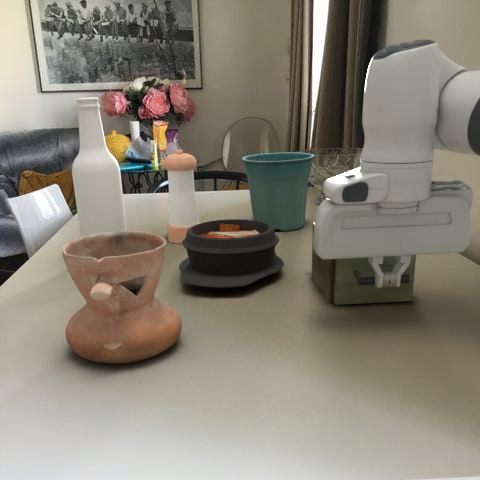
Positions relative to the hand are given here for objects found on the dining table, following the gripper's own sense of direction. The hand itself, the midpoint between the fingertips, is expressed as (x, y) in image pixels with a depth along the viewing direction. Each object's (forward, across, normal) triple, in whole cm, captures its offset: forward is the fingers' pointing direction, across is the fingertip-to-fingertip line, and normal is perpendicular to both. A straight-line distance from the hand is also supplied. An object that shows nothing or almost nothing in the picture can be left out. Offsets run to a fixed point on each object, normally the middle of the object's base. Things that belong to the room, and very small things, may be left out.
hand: (387, 286), depth 77 cm
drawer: (+4, 0, -10) cm, 11 cm away
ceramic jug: (+5, +35, +4) cm, 36 cm away
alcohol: (+5, +44, -38) cm, 58 cm away
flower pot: (+6, +7, -61) cm, 62 cm away
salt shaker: (+5, +29, -52) cm, 60 cm away
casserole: (+5, +20, -25) cm, 32 cm away
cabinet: (+5, 0, -14) cm, 15 cm away
